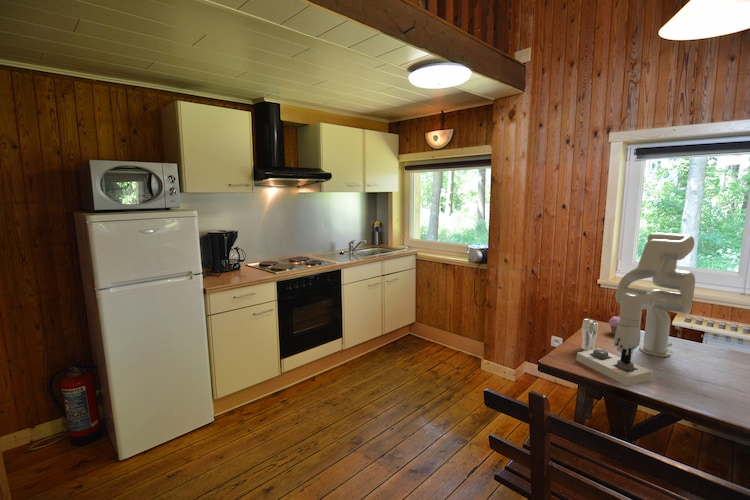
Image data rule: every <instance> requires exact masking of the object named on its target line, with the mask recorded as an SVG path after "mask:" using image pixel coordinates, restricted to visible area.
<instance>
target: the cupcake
mask: <svg viewBox="0 0 750 500" xmlns="http://www.w3.org/2000/svg"><path fill="white" fill-rule="evenodd" d="M619 318H620V316H615V315H614V316H612V317H611V318H610V319H609V321H608V324H609V326H610V328H611V329H610V332H611V334H612V335H614V336H615V333H616V329H617V326H618V324H619Z"/></svg>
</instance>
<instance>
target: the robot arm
mask: <svg viewBox="0 0 750 500" xmlns="http://www.w3.org/2000/svg"><path fill="white" fill-rule="evenodd" d="M694 248H695V238H694V237H693V236H692V235H689V234H682V233H669V232H668V233H667V232H665V233H664V232H653V233H650V234H649V235H648V237H647V242H646V243H645V245H644V248H643V251H642V253H641V256H640V259H639V261H638V264H637V267H636V268H634V269H632V270H630V271H628V272H627V273H626V274H625V275H623V276H622V278H621V279H620V281H619V282H618V286H617V288H616V291H615V295H614V297H615V300H616V302H617V303H618V304H620V310H619V317H620V318H619V324H618V326H617V329H616V333H615V335H614V341H613V345H614V346H615V347H616V351H617V352H620V353H621V354H620V355H621V356H620V358H621V362H624V363H626V364H628V363H630V362H632V361H631V359H632V355H633V354H634V353H633V351H634V350H636V349H637V348H639V350H640V351H641V352H642V353H644V354H647V355H650V356H654V357H662V358H665V357H670V356H671V354H672V353H671V350H670V349H669V348H670V347H672V346H673V343H672V342H669V337H670V330H671V329H670V328H671V317H670V315H669V314H668V312H671V313H675V314H680V315H688V314H689V313H690V312H692V311H691V310H692V309H693V307H692V306H693V301H694V293H695V286H696V277H695V274H694V273H693V272H691V271H688V270H682V269H681V270H680V269H677V263H678V261H681V260H683V259H685V258H686V257H687V256H688V255H689V254H690V253H691V252H693V250H694ZM649 278H652V283H653V286H656V287H659V289H651V290H649V291H647V290H646V291H645V290H641V289H640V290H639V289H635V288H630V287H629V286H630V285H631V284H632V283H634V282H636V281H640V280H644V279H649ZM660 288H662V289H660ZM664 289H667V290H664ZM669 289H670V290H675V291H679V292H675V291H669ZM643 310H646V317H645V318H646V320H645V325H644V326H645V327H644V335H643V336H644V337H643V343H642V344H640V343H641V321H642V313H643Z"/></svg>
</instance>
